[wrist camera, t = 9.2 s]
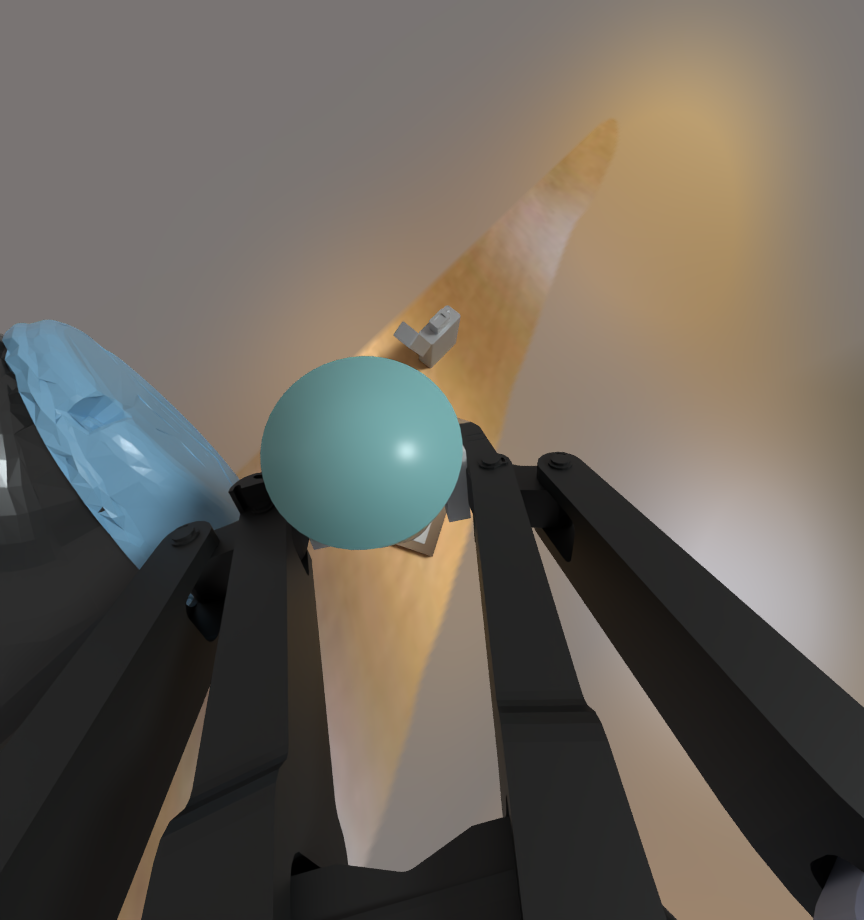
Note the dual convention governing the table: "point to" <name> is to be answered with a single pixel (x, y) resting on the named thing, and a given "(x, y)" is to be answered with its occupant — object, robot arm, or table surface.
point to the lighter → (432, 336)
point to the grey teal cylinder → (361, 453)
